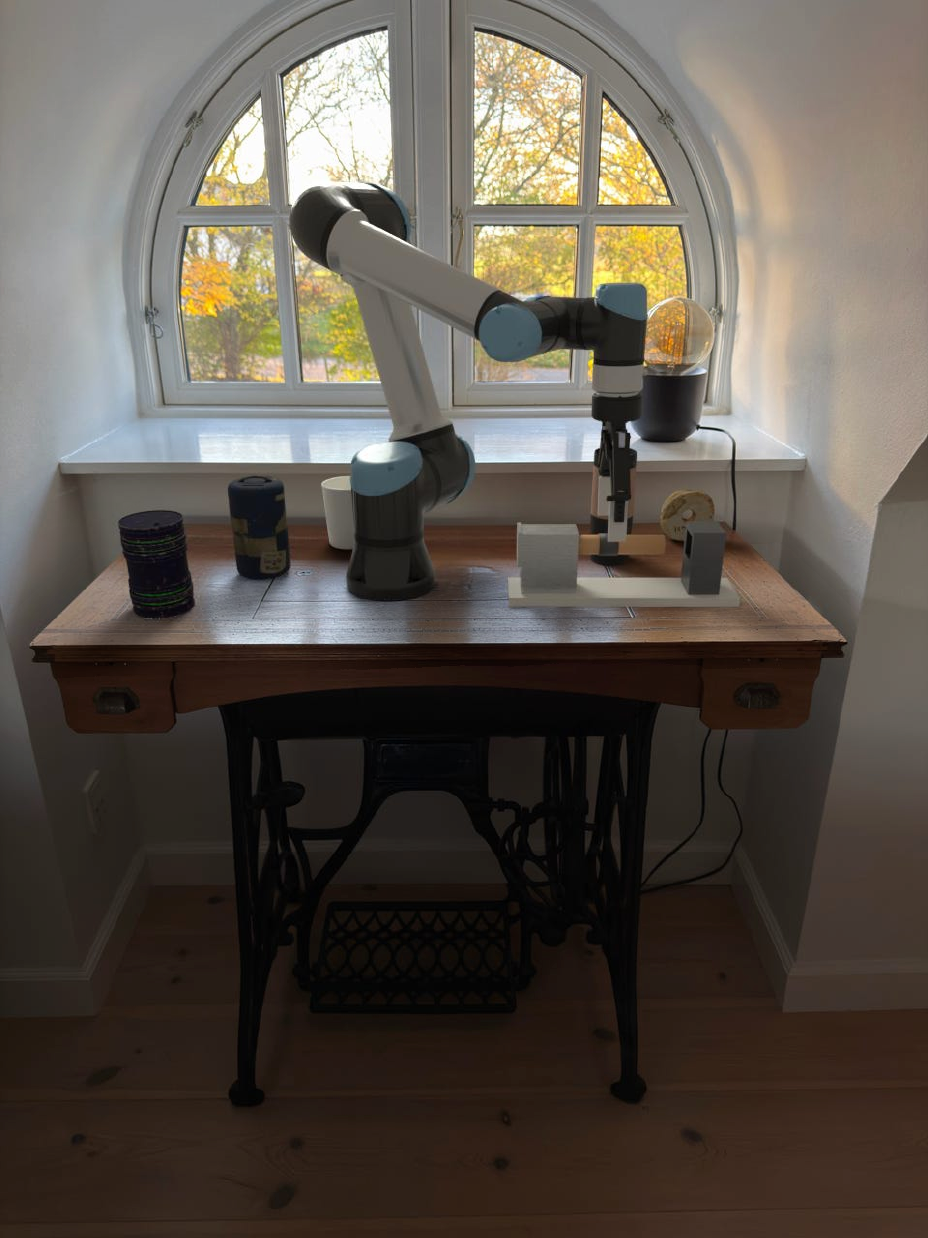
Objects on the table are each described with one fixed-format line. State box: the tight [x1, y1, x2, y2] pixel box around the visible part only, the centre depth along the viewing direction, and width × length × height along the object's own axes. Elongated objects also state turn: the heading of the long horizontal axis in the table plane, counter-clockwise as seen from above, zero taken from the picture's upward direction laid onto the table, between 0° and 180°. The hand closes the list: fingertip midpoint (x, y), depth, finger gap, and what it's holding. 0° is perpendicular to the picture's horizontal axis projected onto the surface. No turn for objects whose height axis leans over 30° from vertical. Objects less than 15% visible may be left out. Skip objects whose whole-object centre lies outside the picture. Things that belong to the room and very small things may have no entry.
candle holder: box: [320, 475, 355, 550], centre depth 171 cm, size 10×10×12 cm
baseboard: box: [507, 577, 741, 608], centre depth 147 cm, size 37×9×2 cm, turn 89°
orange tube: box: [578, 533, 667, 556], centre depth 144 cm, size 22×4×4 cm, turn 89°
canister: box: [227, 474, 292, 581], centre depth 154 cm, size 10×10×18 cm
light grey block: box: [516, 522, 580, 594], centre depth 145 cm, size 10×5×10 cm, turn 89°
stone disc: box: [659, 489, 716, 542], centre depth 172 cm, size 10×4×10 cm, turn 97°
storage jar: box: [117, 509, 196, 620], centre depth 142 cm, size 10×10×15 cm
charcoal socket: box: [680, 520, 727, 595], centre depth 144 cm, size 5×6×10 cm
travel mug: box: [589, 447, 638, 566], centre depth 160 cm, size 8×8×20 cm
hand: (611, 527), depth 142 cm, fingers open, 13 cm apart
